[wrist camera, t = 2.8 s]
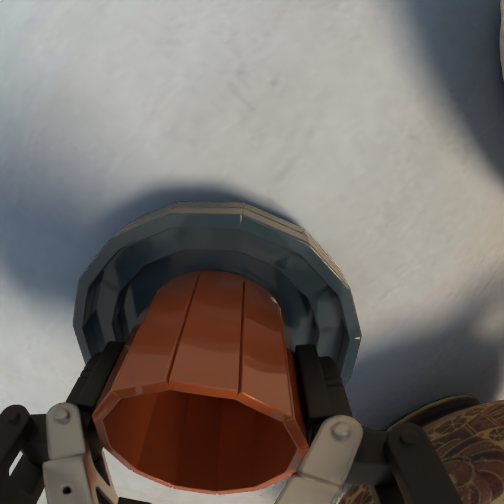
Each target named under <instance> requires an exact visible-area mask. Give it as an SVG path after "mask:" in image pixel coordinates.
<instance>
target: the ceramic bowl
mask: <svg viewBox="0 0 504 504" xmlns="http://www.w3.org/2000/svg"><path fill="white" fill-rule="evenodd" d="M400 423H413V424H416V425H418V426H420V427H421V428H422V429H423V430H424V431H425V432H426V434H427V436H428V438H429V439H430V441H431V443H432V445H433V447H434V448H435V450H436V452H437V454H438V456H439V458H440V460H441V461H442V463H443V465H444V467H445V469H446V471H447V473H448V475H449V477H450V478H451V480H452V482H453V484H454V486H455V488H456V490H457V492H458V494H459V496H460V498H461V500H462V502H463V504H504V400H498V401H494V402H489V403H484V404H480V403H479V402H478V400H477V399H476V398H474V397H473V396H467V395H460V396H452V397H447V398H444V399H441V400H439V401H436V402H433V403H431V404H428V405H426V406H424V407H422V408H420V409H418V410H417V411H415V412H413V413H411V414H409V415H407V416H406V417H405V418H403V419H402V420H400V421H398V422H397V423H395V424H394V425H392V426H391V427H390V428H389V429H388V430H386V431H389V432H390V430H391V429H392V428H393V427H394V426H396V425H397V424H400ZM338 504H375V503H374V500H373V498H372V495H371V492H370V489H369V487H368V485H362V484H354V483H353V484H352V485H351V486H350V487H349V489H348V490H347V492H346V493H345V494H344V496H343V497H342V499H341V500H340V502H339V503H338Z"/></svg>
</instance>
